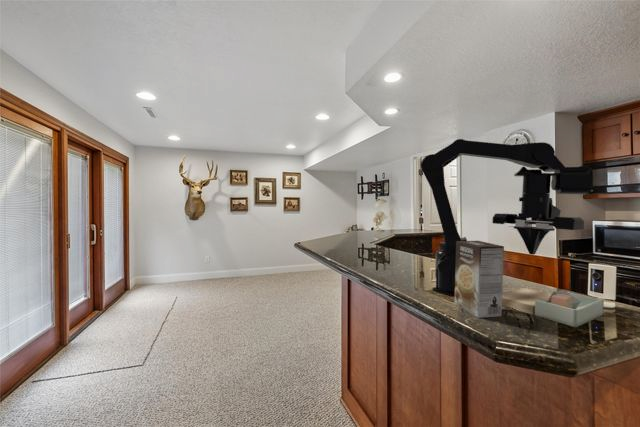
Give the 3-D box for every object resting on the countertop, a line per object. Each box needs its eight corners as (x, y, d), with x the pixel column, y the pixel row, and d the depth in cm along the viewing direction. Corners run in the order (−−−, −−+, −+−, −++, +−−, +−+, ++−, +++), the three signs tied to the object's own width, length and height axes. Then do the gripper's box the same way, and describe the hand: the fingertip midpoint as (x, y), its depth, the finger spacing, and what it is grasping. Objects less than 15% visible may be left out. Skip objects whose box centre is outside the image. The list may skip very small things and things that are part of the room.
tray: (534, 315, 68) (535, 300, 68) (563, 304, 75) (563, 291, 75) (576, 327, 62) (576, 310, 62) (603, 314, 69) (603, 299, 68)
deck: (493, 303, 76) (493, 295, 76) (522, 294, 83) (522, 287, 83) (532, 314, 69) (533, 306, 68) (561, 304, 76) (561, 296, 75)
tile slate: (548, 299, 72) (553, 291, 71) (558, 297, 74) (563, 289, 73) (565, 311, 69) (570, 303, 68) (575, 309, 71) (581, 301, 70)
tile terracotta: (551, 296, 68) (565, 299, 66) (559, 293, 70) (572, 296, 68) (551, 313, 68) (564, 317, 66) (558, 310, 70) (571, 313, 68)
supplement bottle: (459, 281, 97) (460, 244, 96) (437, 280, 98) (437, 244, 98) (454, 276, 103) (455, 241, 103) (433, 275, 105) (434, 241, 104)
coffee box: (452, 304, 75) (454, 240, 75) (475, 303, 76) (477, 240, 76) (477, 318, 66) (479, 246, 66) (503, 316, 67) (505, 245, 67)
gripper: (596, 194, 72) (592, 258, 73) (515, 194, 89) (512, 247, 90) (574, 193, 67) (570, 262, 68) (492, 193, 84) (489, 249, 84)
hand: (532, 254), depth 78 cm, fingers closed
